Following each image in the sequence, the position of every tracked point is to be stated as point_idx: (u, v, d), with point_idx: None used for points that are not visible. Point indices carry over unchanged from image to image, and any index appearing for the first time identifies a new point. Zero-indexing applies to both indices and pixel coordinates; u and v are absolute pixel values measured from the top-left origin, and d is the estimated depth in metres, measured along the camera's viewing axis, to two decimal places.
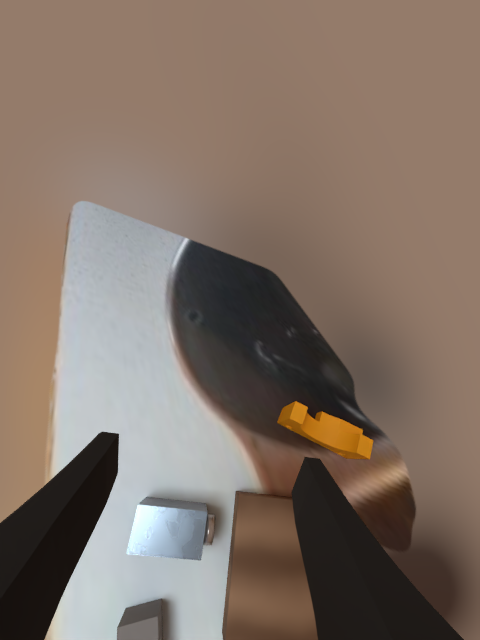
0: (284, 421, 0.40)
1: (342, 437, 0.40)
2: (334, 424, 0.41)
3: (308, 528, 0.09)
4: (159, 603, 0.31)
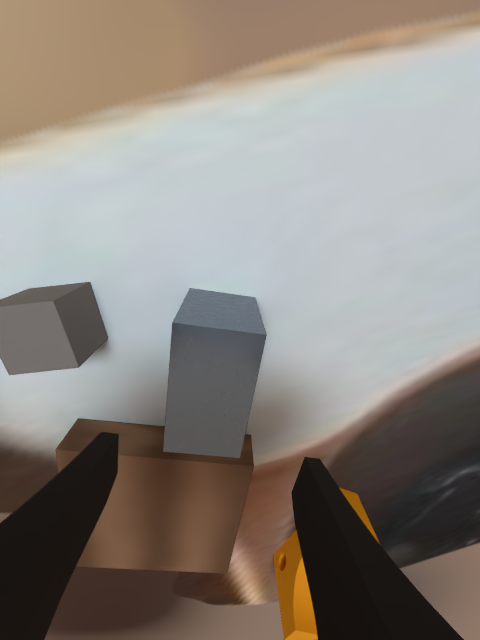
0: None
1: None
2: None
3: (308, 528, 0.09)
4: (100, 342, 0.18)
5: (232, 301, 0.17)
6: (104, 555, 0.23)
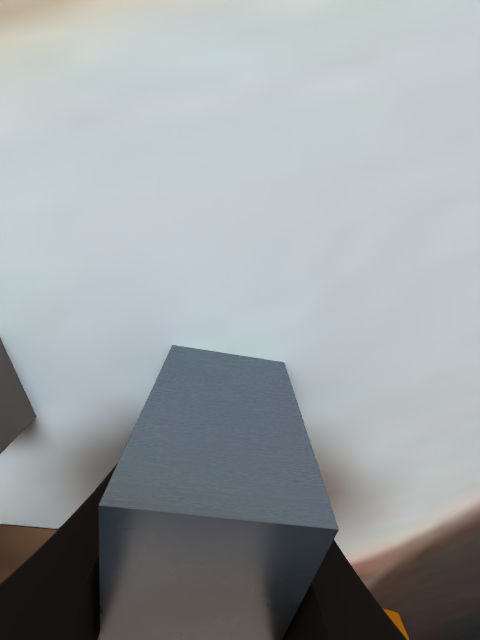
0: None
1: None
2: None
3: None
4: (15, 434, 0.10)
5: (247, 381, 0.09)
6: None
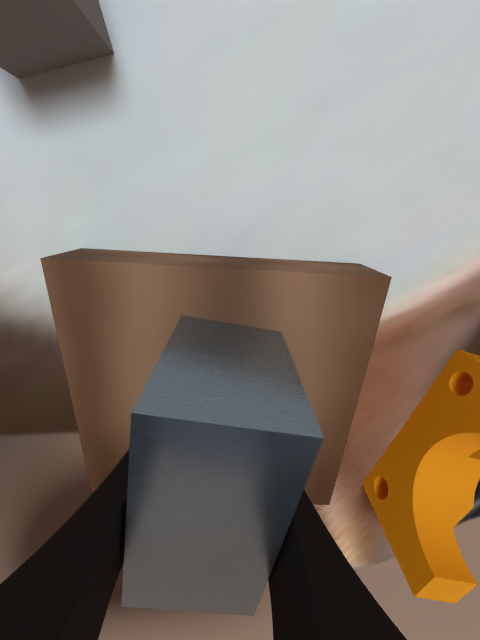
0: None
1: (437, 512, 0.16)
2: (459, 489, 0.17)
3: None
4: (99, 30, 0.09)
5: (248, 343, 0.10)
6: None
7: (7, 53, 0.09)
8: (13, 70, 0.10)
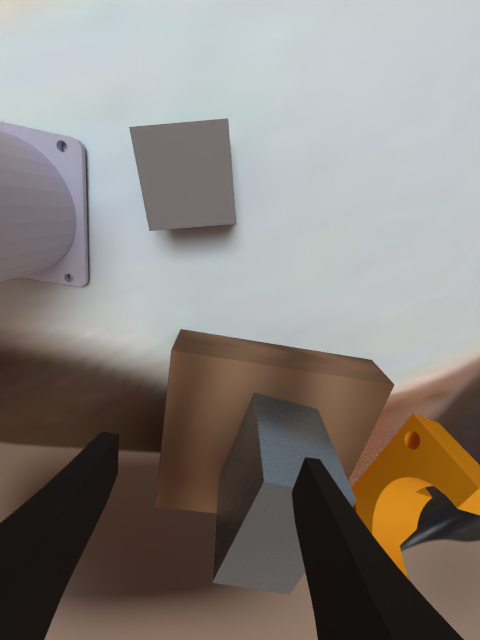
0: (438, 447, 0.19)
1: (390, 532, 0.22)
2: (407, 515, 0.22)
3: (308, 528, 0.09)
4: None
5: (301, 421, 0.16)
6: (195, 494, 0.20)
7: None
8: None
